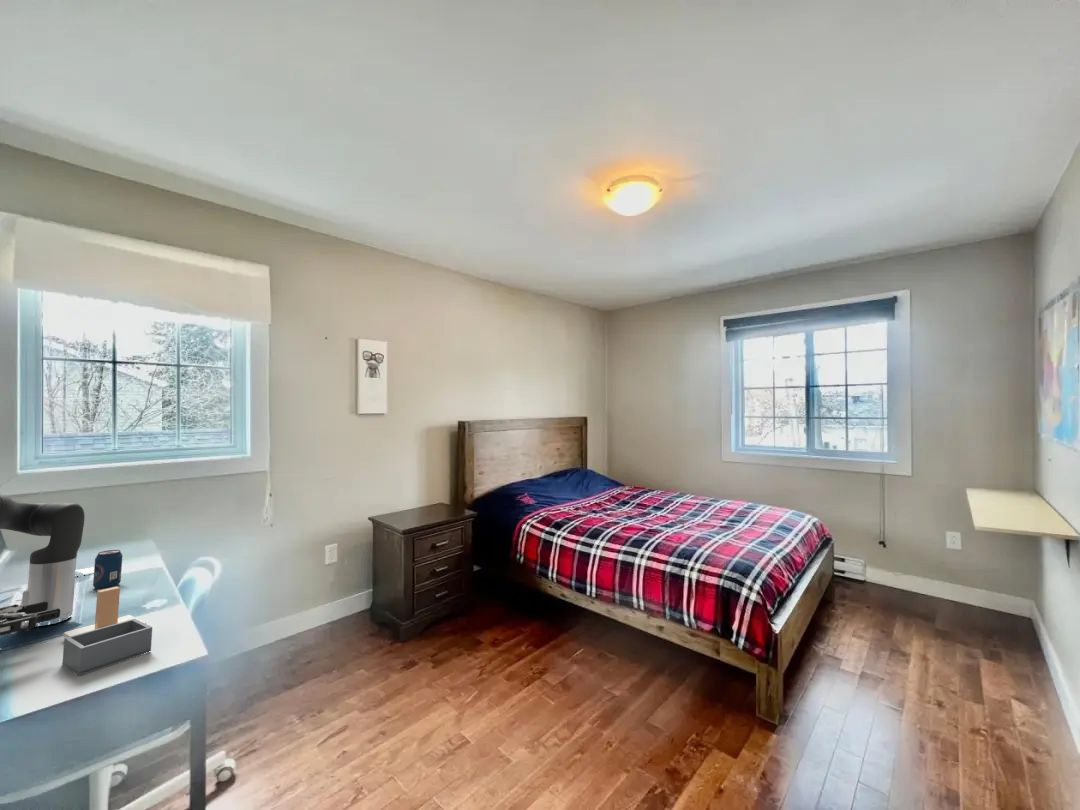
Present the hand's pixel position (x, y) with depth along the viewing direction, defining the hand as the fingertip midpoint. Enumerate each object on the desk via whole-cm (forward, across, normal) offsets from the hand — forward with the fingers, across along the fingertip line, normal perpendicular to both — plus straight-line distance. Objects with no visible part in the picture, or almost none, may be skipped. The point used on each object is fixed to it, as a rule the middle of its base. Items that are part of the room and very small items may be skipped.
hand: (53, 608), depth 112 cm
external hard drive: (+27, +72, +11) cm, 78 cm away
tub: (+6, -16, +10) cm, 20 cm away
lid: (+10, 0, +10) cm, 15 cm away
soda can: (+26, +47, +10) cm, 54 cm away
